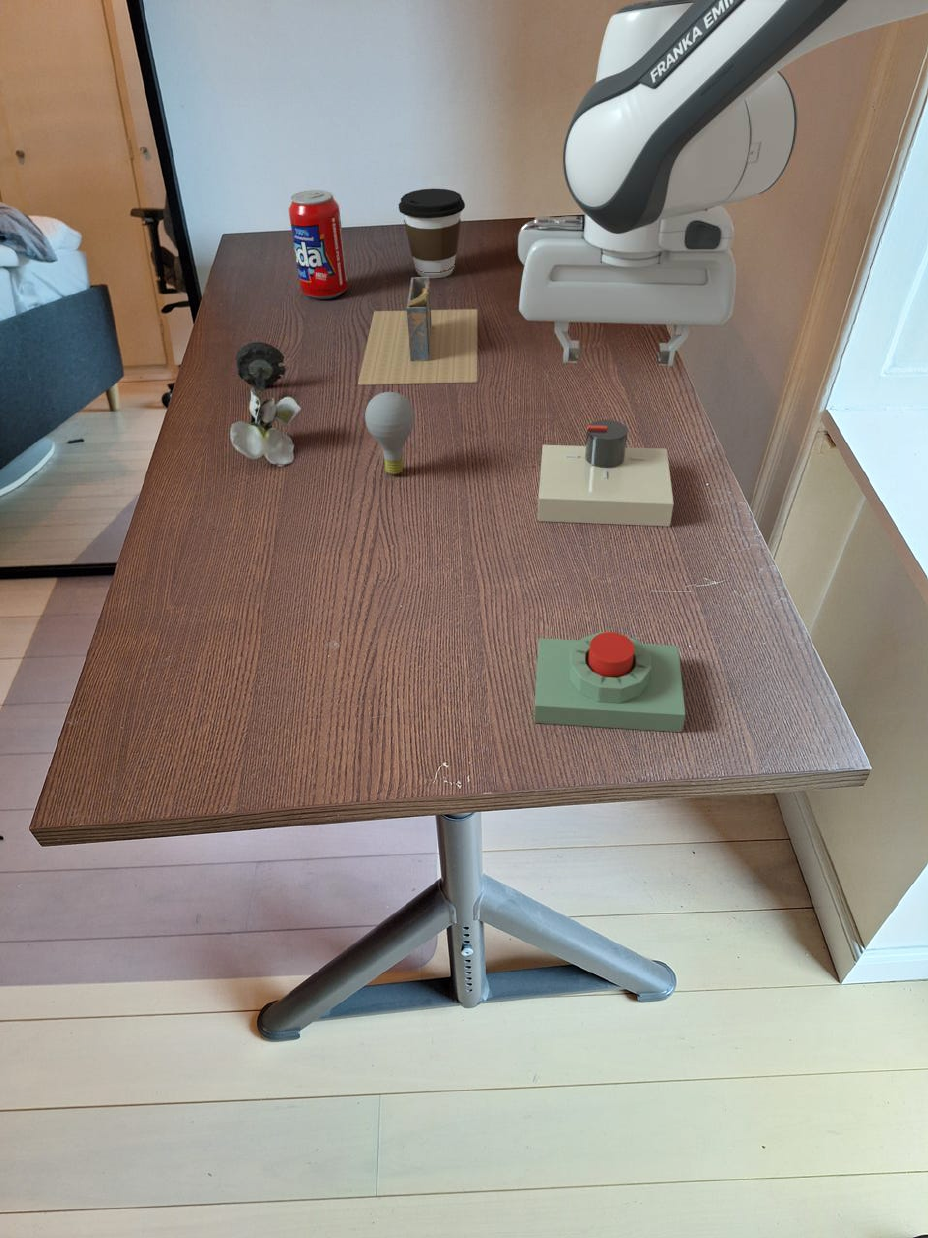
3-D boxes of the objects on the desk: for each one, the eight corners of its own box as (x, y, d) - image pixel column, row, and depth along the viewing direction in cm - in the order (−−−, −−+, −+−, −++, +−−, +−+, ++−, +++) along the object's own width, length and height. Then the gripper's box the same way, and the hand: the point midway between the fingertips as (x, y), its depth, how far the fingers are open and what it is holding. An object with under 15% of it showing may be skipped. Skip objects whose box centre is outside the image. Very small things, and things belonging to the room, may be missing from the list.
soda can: (358, 291, 141) (347, 194, 131) (321, 305, 137) (306, 206, 127) (329, 280, 145) (317, 184, 135) (292, 293, 141) (276, 196, 131)
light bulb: (423, 481, 98) (417, 401, 91) (377, 489, 97) (368, 409, 90) (412, 457, 102) (406, 379, 95) (367, 465, 101) (358, 387, 94)
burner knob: (624, 447, 96) (627, 417, 94) (625, 468, 93) (628, 437, 90) (584, 446, 97) (587, 416, 94) (584, 467, 93) (587, 436, 91)
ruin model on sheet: (477, 382, 116) (476, 311, 109) (357, 384, 116) (349, 314, 110) (477, 309, 134) (476, 245, 128) (374, 311, 135) (368, 247, 128)
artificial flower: (300, 389, 118) (309, 324, 111) (290, 494, 104) (300, 428, 96) (234, 377, 116) (239, 310, 109) (214, 483, 101) (218, 414, 94)
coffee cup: (431, 288, 141) (427, 211, 133) (390, 271, 147) (384, 197, 139) (479, 271, 146) (478, 196, 138) (438, 255, 152) (435, 183, 144)
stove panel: (662, 462, 99) (666, 438, 97) (670, 527, 90) (674, 502, 88) (542, 458, 101) (543, 434, 99) (537, 521, 91) (538, 496, 89)
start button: (631, 648, 71) (633, 633, 70) (633, 679, 69) (635, 664, 67) (588, 646, 72) (589, 630, 70) (588, 676, 69) (589, 661, 68)
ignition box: (674, 663, 75) (681, 630, 72) (681, 732, 69) (689, 699, 66) (538, 655, 76) (539, 622, 73) (534, 723, 70) (535, 690, 68)
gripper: (516, 226, 75) (512, 373, 84) (752, 231, 73) (722, 380, 83) (520, 204, 80) (516, 345, 89) (742, 208, 78) (714, 351, 87)
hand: (617, 362), depth 86 cm, fingers open, 8 cm apart
